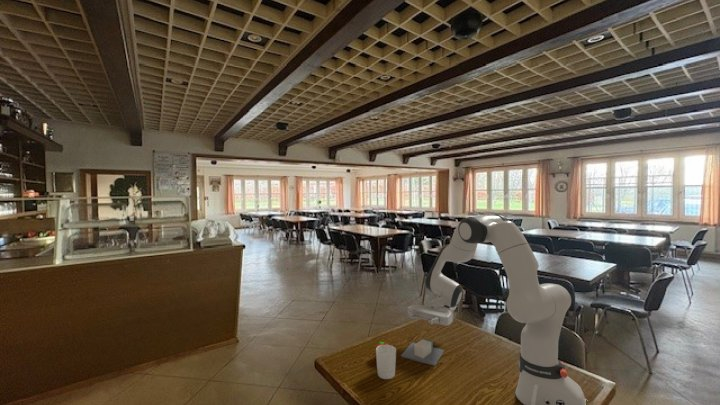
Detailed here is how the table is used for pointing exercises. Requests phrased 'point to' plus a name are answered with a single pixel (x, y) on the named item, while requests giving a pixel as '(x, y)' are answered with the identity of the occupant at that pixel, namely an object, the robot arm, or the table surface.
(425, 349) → the block
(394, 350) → the white cup
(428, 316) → the robot arm
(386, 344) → the clementine
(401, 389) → the table surface
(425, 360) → the slate tile
